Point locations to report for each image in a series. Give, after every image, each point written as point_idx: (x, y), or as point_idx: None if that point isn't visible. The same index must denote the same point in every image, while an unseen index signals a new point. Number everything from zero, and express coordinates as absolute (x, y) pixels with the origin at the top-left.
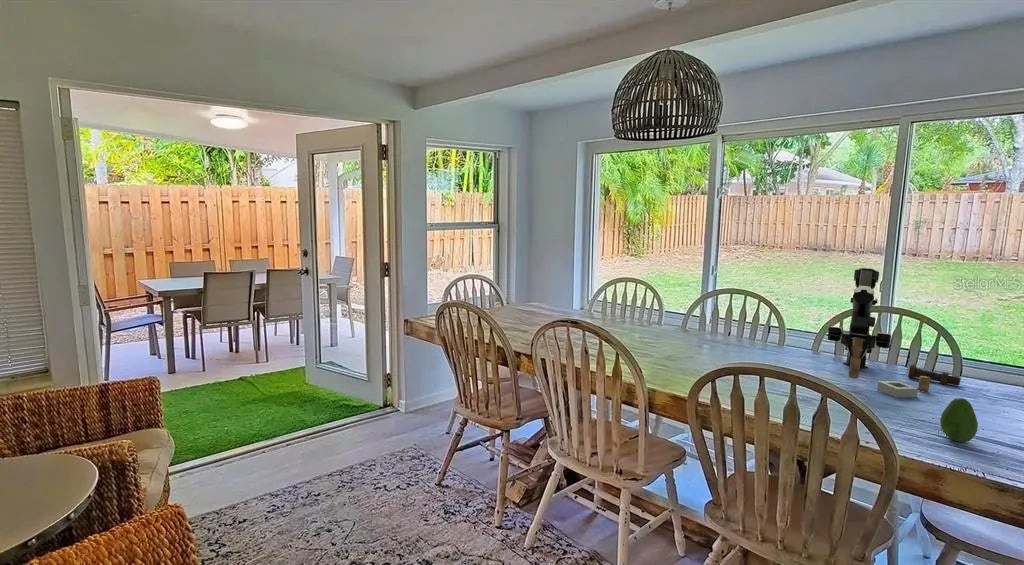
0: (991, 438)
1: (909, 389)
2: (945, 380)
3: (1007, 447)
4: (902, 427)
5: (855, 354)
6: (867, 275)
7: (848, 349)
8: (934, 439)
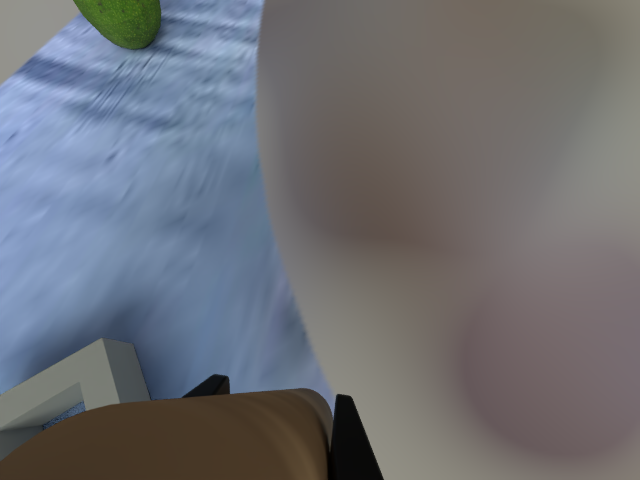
0: (42, 86)
1: (22, 384)
2: None
3: (45, 55)
4: (236, 58)
5: (285, 393)
6: None
7: (380, 474)
8: (190, 30)
